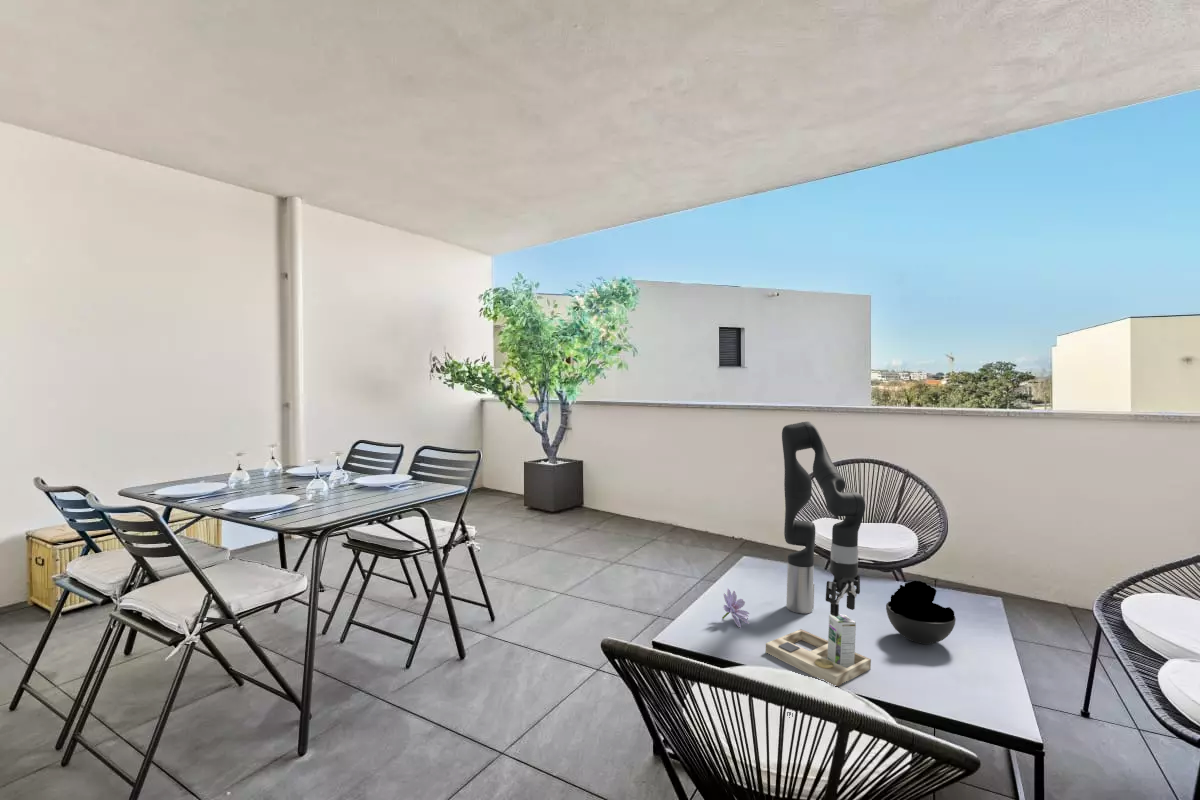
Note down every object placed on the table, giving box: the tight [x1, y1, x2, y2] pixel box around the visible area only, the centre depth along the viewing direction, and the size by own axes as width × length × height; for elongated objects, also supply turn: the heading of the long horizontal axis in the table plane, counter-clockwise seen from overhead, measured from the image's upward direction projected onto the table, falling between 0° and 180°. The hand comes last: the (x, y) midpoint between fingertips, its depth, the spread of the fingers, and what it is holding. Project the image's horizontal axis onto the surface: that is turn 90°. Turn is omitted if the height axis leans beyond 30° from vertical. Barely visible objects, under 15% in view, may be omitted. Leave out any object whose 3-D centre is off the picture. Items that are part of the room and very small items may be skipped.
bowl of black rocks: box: [885, 580, 957, 645], centre depth 186 cm, size 20×20×19 cm
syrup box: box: [827, 613, 857, 668], centre depth 169 cm, size 6×6×14 cm
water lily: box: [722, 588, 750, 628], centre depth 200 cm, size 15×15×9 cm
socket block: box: [765, 628, 872, 687], centre depth 172 cm, size 18×24×3 cm
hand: (842, 612), depth 168 cm, fingers open, 8 cm apart
